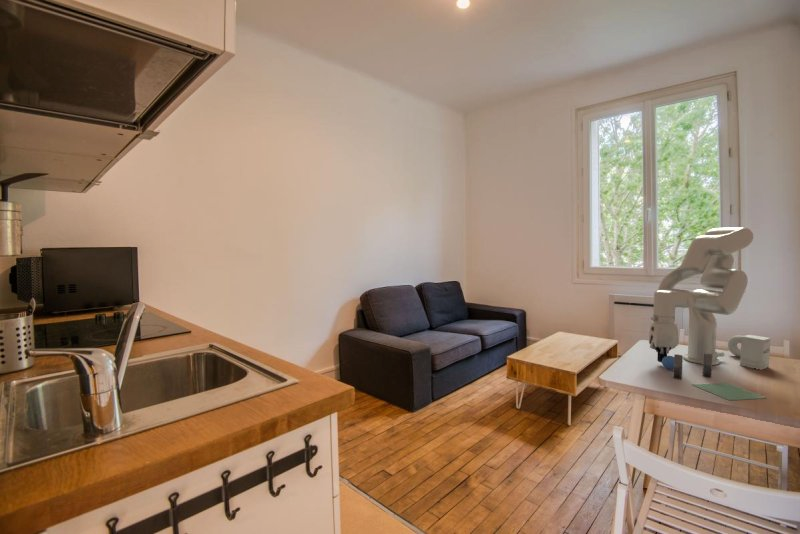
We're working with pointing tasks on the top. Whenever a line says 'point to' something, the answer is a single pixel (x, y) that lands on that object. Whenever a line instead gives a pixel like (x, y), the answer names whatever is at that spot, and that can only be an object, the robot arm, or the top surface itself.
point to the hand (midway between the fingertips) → (662, 362)
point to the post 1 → (678, 366)
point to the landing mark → (728, 391)
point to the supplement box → (755, 351)
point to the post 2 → (707, 365)
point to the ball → (668, 362)
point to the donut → (734, 345)
